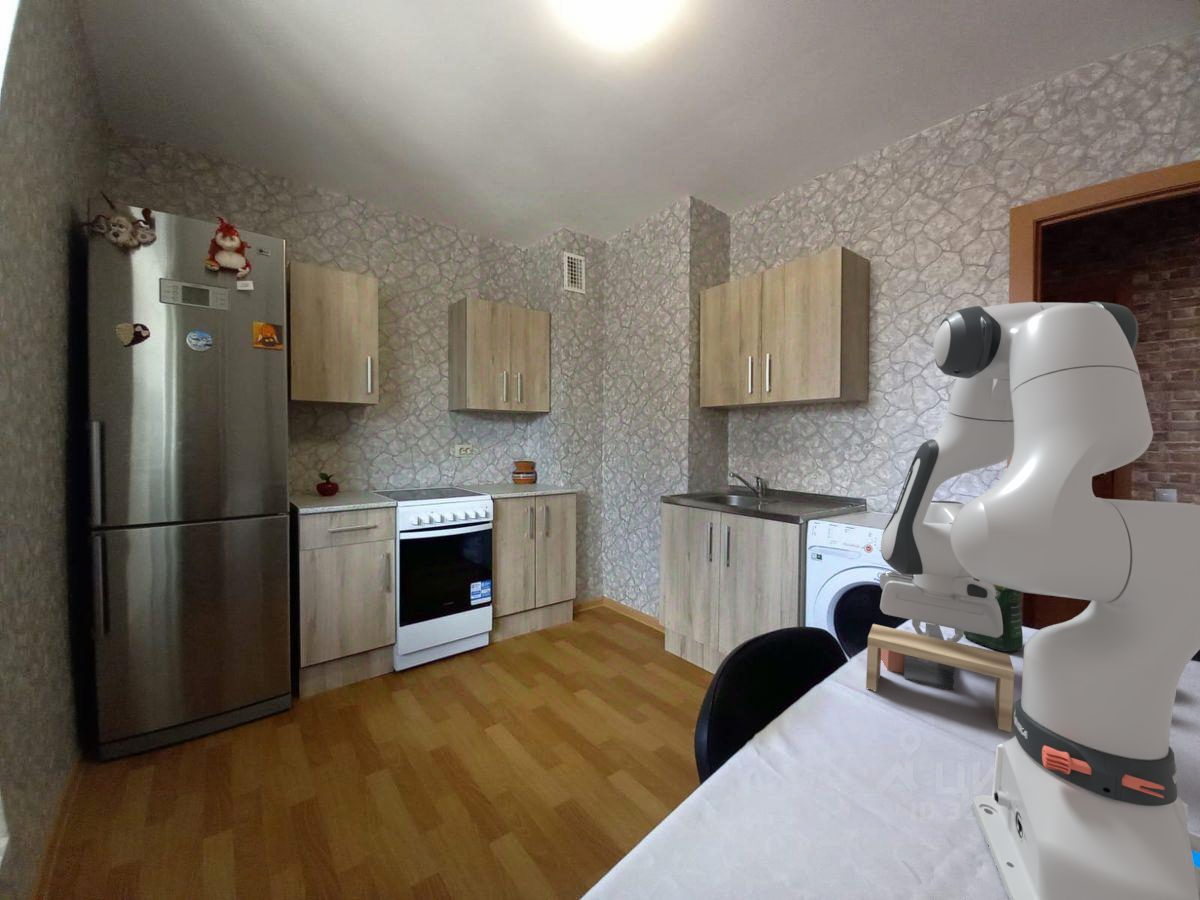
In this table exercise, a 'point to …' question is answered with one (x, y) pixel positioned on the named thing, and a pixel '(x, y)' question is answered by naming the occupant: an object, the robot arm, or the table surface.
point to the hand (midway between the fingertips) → (936, 645)
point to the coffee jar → (1004, 623)
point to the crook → (929, 666)
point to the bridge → (945, 662)
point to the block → (892, 660)
